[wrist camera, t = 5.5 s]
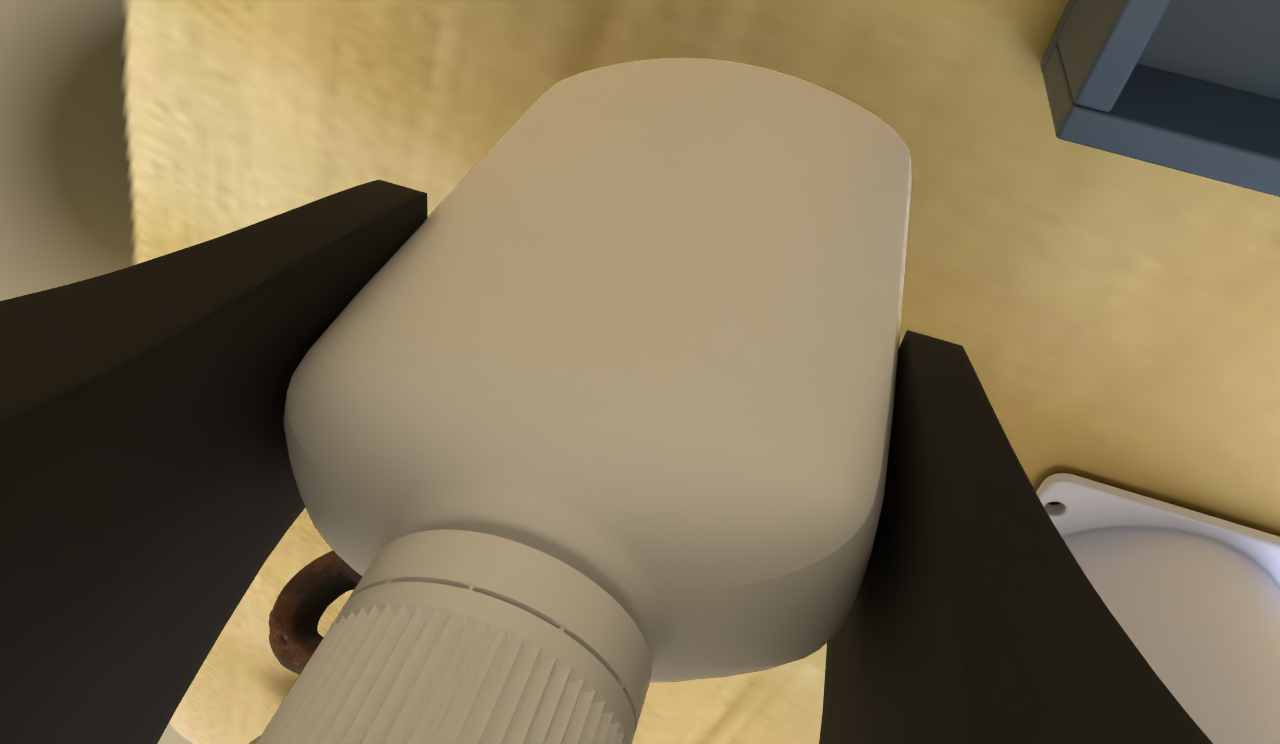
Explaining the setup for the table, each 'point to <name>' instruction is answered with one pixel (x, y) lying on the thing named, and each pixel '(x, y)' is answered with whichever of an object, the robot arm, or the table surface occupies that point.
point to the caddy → (1172, 84)
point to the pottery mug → (307, 608)
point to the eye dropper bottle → (607, 412)
